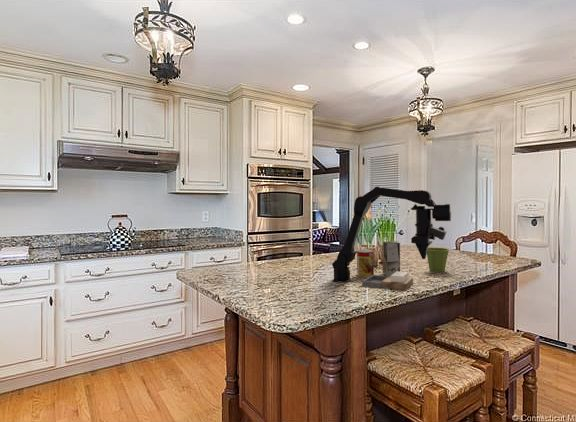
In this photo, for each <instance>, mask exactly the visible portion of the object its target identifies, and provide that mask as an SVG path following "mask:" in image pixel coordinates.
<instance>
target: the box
mask: <svg viewBox="0 0 576 422" xmlns="http://www.w3.org/2000/svg"><path fill="white" fill-rule="evenodd" d="M387 277H389V276H386V275H379V274H378V275H377V274H374V275H372V276H370V277H366V278H365V279H364V280H362V281H361V287H371V288H380V289H382V288H383V287H382V281H383V280H384V279H386V278H387Z"/></svg>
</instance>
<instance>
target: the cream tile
mask: <svg viewBox="0 0 576 422" xmlns="http://www.w3.org/2000/svg"><path fill="white" fill-rule="evenodd" d="M408 278H409V272H407V271H400V272H398V271H397V272H395V273H394V274H392V275H391V282H402V283H403V282H405V281H406V280H407V279H408Z"/></svg>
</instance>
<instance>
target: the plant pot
mask: <svg viewBox="0 0 576 422" xmlns="http://www.w3.org/2000/svg"><path fill="white" fill-rule="evenodd" d="M449 251H451V249H450V248H446V247H428V250H427V254H426V258H427V262H428V269H429V271H430V272H433V273H441V272H442V273H444V272H445V271H446V266H447V261H448V260H447V259H448V255H449Z"/></svg>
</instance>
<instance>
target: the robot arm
mask: <svg viewBox="0 0 576 422" xmlns="http://www.w3.org/2000/svg"><path fill="white" fill-rule="evenodd" d="M380 197H387V198H395V199H400V200H406V201H410V202H413V203H415V204H413V206H412V207H411V208H410V210H411V211H415V219H416V220H415V224H414V226H415V228H416V229H415V231H416V233H415V235H413V236H412V237H411V238H410V239H411V242H410V243H411V244H415V247H416V248H417V250H418V253H419V254H420V257H421V259H422V260H426V258H427V250H428V248H429V246H430V245H432V243H433V241H435V240H436V238H438V239H439V240H442V241H443V240H445V238H446V234H447V231H446V230H445V227H443V226H439V227H434V226H433V223H432V220H435V222H451V220H452V211H451V204H450V203H445V204H436V202H434V200H433V199H432V194H431V192H429V191H428V190H425V189H424V190H423V189H422V190H421V189H420V190H402V189H395V188H389V187H388V188H387V187H383V186H375V187H374V188H373V189H371V190H370V191H368V192H366V193H365V194H364V195H360V196H358V197H356V198H355V200H354V204H353V217H352V220H351V223H350V226H349V229H348V233H347V236H346V239H345V243H344V244H343V246H342V247H341V249H340V250H339V252H338V254H337V256H336V259H335V260H334V261H333V262H332V263H331V266H332V268H333V279H332V282H340V283H347V282H349V281H350V280H351V270H350V264H351V263H352V262H353V261H354V260H356V256H357V251H358V250H355V245H356V242H357V239H358V235H359V233H360V230H361V227H362V224H363V220H364V218H365V216H366V214H368V212H369V209H371V206H372V204H373V203H374V202H375V201H376V200H377V199H379V198H380ZM418 204H419V205H418ZM426 207H429V208H426ZM430 240H431V241H430ZM432 240H433V241H432Z"/></svg>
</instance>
